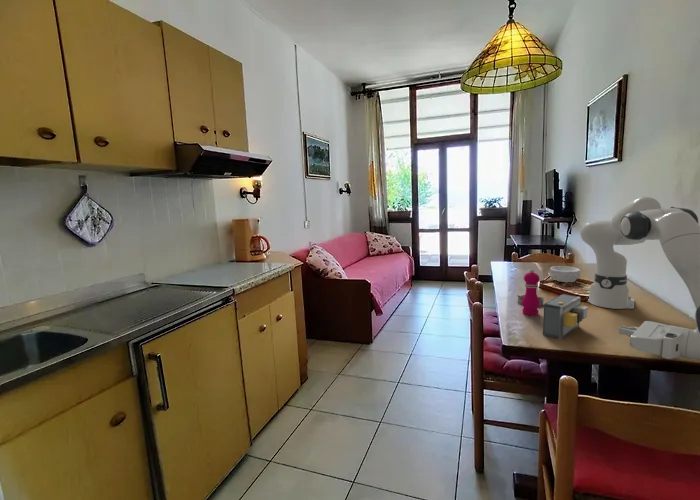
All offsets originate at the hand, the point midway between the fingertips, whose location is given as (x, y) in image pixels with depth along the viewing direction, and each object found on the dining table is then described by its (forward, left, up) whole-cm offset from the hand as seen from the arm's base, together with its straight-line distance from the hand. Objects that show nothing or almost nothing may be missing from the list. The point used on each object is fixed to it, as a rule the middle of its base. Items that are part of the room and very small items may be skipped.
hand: (619, 329), depth 119 cm
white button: (-11, -15, -2) cm, 19 cm away
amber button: (0, -15, -2) cm, 15 cm away
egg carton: (-32, -42, -8) cm, 54 cm away
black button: (-5, -15, -2) cm, 16 cm away
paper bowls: (-86, -46, -7) cm, 98 cm away
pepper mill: (-17, -36, -7) cm, 41 cm away
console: (-5, -19, -7) cm, 21 cm away
